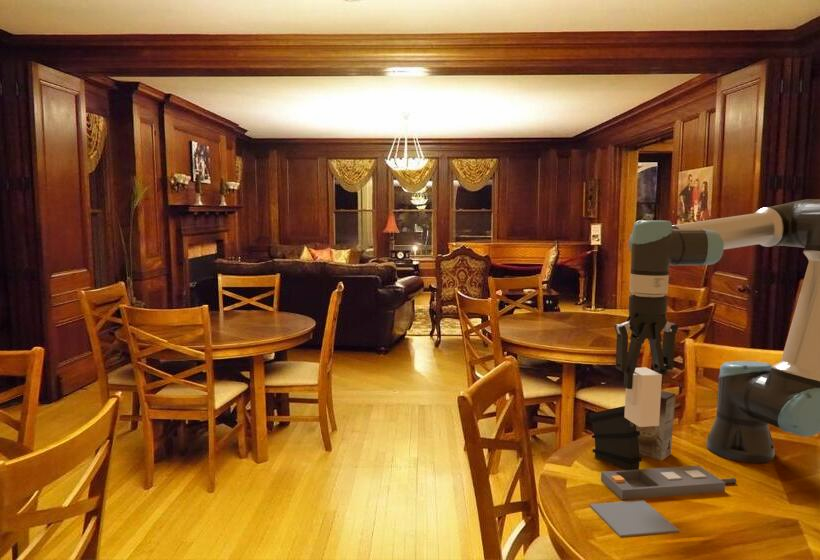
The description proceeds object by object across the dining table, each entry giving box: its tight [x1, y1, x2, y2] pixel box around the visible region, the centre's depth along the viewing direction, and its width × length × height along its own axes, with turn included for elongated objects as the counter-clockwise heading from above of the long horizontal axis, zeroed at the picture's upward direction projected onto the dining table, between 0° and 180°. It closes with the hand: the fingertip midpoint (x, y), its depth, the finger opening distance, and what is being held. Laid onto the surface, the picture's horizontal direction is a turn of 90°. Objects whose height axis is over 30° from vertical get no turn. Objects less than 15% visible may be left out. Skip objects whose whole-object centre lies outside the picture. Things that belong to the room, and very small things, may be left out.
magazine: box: [587, 405, 643, 470], centre depth 145 cm, size 4×13×15 cm, turn 32°
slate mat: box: [589, 499, 680, 538], centre depth 118 cm, size 12×12×1 cm
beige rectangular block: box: [624, 366, 662, 427], centre depth 129 cm, size 4×6×11 cm
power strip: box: [600, 464, 737, 501], centre depth 133 cm, size 30×9×3 cm, turn 100°
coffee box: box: [636, 389, 676, 461], centre depth 151 cm, size 9×6×16 cm
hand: (642, 402), depth 129 cm, fingers closed on beige rectangular block, 4 cm apart
